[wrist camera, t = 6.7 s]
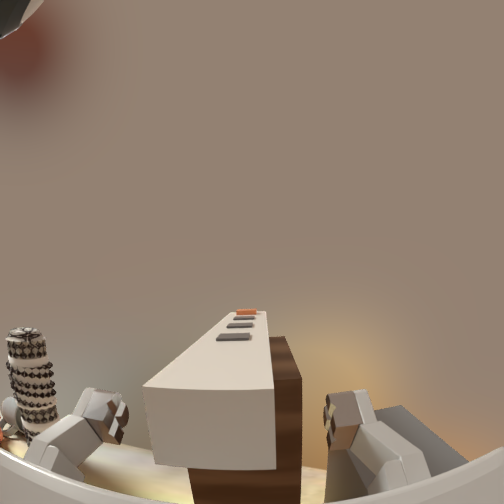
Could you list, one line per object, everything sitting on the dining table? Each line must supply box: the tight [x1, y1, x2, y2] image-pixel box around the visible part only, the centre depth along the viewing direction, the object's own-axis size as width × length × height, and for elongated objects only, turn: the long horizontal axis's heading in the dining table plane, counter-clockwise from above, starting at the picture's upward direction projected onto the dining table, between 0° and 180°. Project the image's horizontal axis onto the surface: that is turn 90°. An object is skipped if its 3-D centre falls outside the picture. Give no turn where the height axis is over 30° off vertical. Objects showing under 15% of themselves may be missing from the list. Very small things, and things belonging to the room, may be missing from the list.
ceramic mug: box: [0, 397, 25, 437], centre depth 42 cm, size 11×8×8 cm
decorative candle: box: [5, 328, 60, 447], centre depth 38 cm, size 9×9×25 cm
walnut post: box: [188, 336, 302, 504], centre depth 24 cm, size 16×8×26 cm, turn 178°
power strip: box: [142, 309, 276, 470], centre depth 21 cm, size 26×4×4 cm, turn 178°
